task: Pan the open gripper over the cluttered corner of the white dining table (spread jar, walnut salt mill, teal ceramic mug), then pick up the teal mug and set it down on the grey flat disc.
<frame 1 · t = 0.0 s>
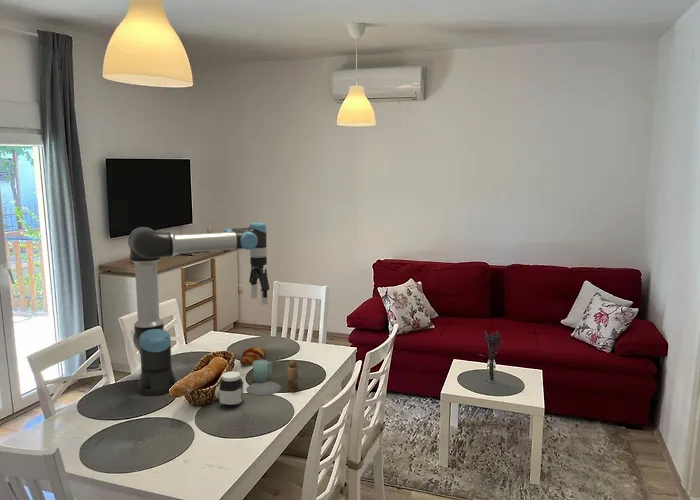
hand: (259, 301, 253), 28 cm above the table, fingers open, 13 cm apart
croissant: (254, 360, 255), on the table
salt mill: (293, 390, 221), on the table
grey flat disc: (263, 388, 222), on the table
spread jar: (228, 402, 209), on the table
mug: (260, 380, 231), on the table, touching grey flat disc
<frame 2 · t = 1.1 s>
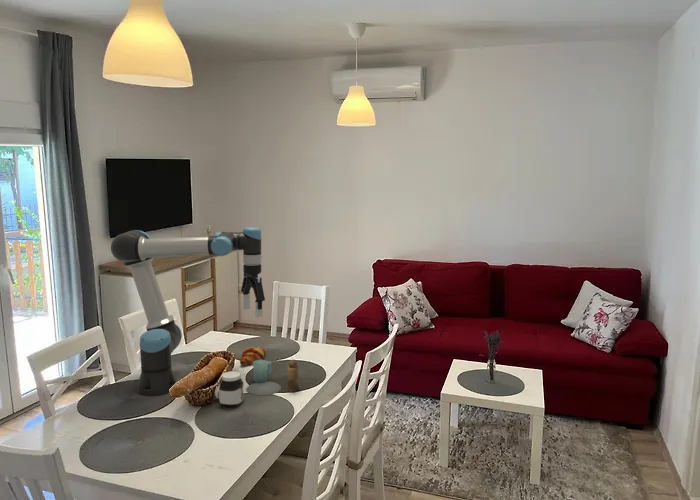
hand: (252, 312, 233), 28 cm above the table, fingers open, 13 cm apart
nothing on the table moved.
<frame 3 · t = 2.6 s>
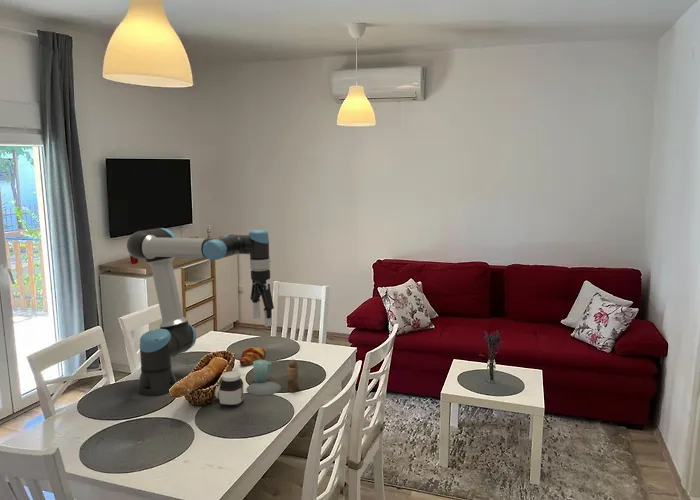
hand: (262, 322, 216), 29 cm above the table, fingers open, 13 cm apart
nothing on the table moved.
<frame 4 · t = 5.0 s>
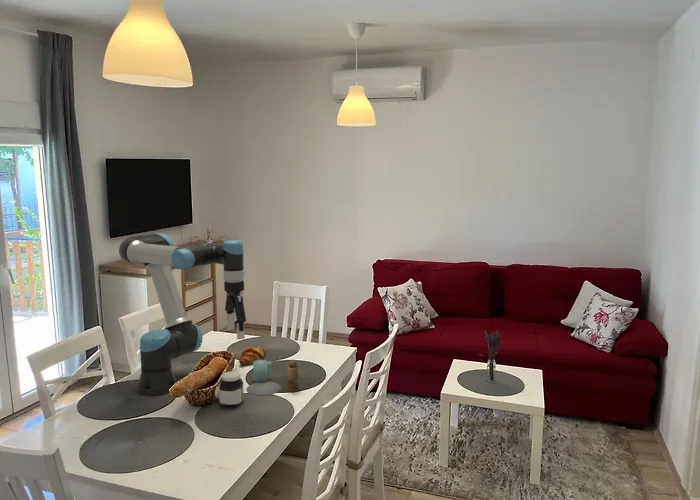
hand: (235, 334, 211), 25 cm above the table, fingers open, 13 cm apart
nothing on the table moved.
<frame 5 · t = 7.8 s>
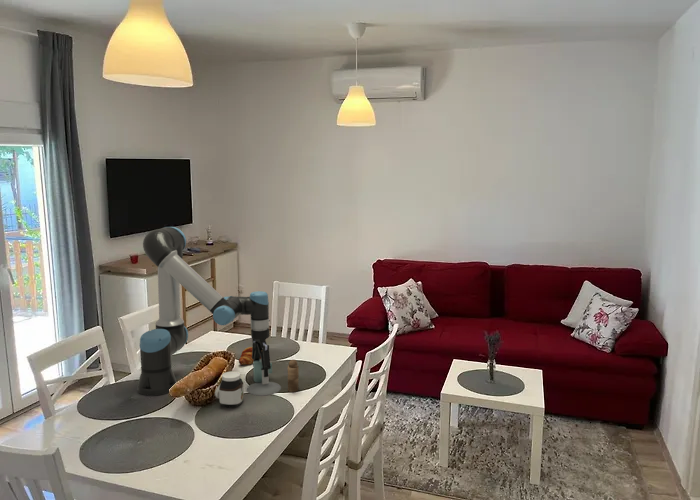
hand: (261, 380, 230), 0 cm above the table, fingers open, 9 cm apart
nothing on the table moved.
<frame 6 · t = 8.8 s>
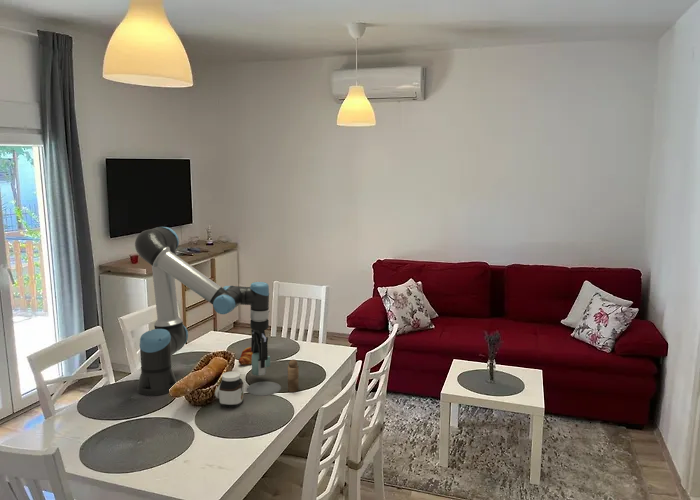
hand: (258, 371, 230), 4 cm above the table, fingers closed on mug, 6 cm apart
mug: (258, 372, 231), point 3 cm above the table, touching gripper
everything else where it was.
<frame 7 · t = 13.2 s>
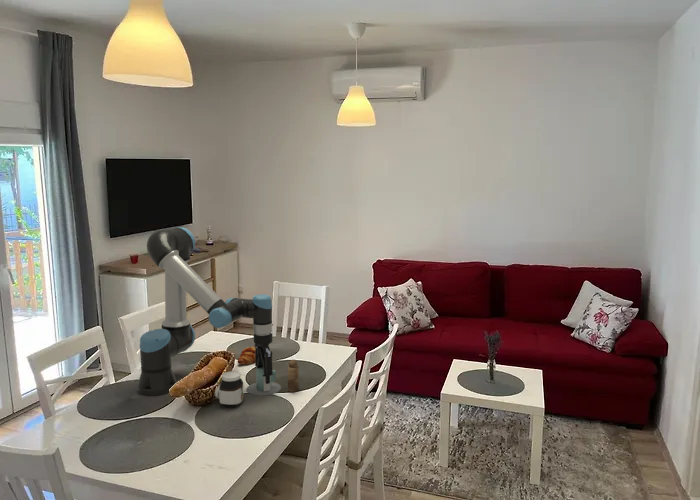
hand: (264, 387, 222), 1 cm above the table, fingers closed on mug, 6 cm apart
mug: (263, 388, 222), resting on grey flat disc, touching gripper
everything else where it was.
when the fingers open (1 cm above the table, at t = 13.2 s): mug stays where it is, resting on grey flat disc.
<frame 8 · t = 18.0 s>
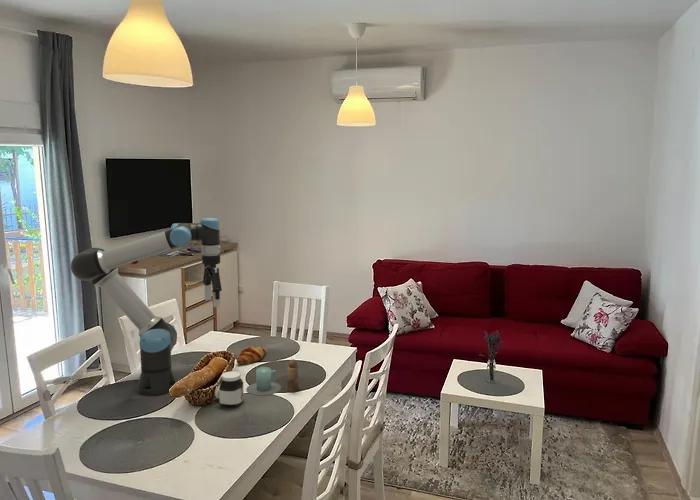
hand: (212, 303, 234), 32 cm above the table, fingers open, 13 cm apart
mug: (263, 388, 222), resting on grey flat disc
at the end: mug 0.1 cm from the grey flat disc (horizontally); mug tilted 0°; mug resting on grey flat disc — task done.
